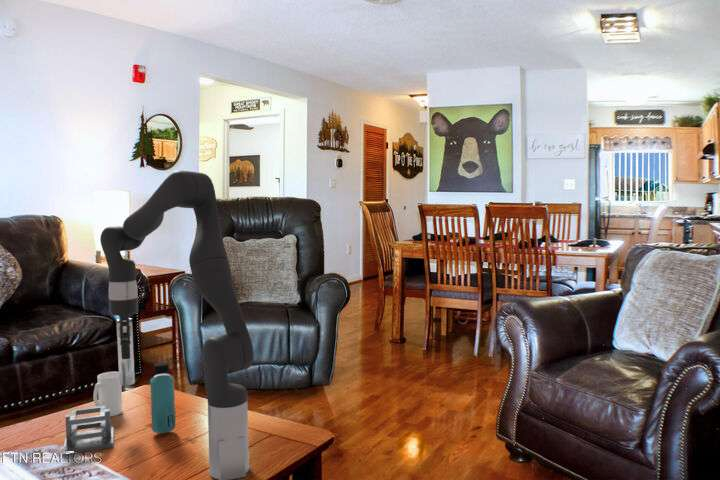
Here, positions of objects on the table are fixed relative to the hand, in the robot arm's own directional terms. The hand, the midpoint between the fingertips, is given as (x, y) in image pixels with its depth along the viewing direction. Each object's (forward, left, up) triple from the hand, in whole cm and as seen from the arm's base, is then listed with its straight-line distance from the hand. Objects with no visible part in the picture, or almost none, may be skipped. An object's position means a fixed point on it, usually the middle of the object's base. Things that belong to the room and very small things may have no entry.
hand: (125, 356), depth 166 cm
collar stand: (-6, +10, -21) cm, 24 cm away
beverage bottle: (-8, -9, -21) cm, 24 cm away
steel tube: (0, 0, -8) cm, 8 cm away
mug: (+14, +6, -21) cm, 26 cm away
